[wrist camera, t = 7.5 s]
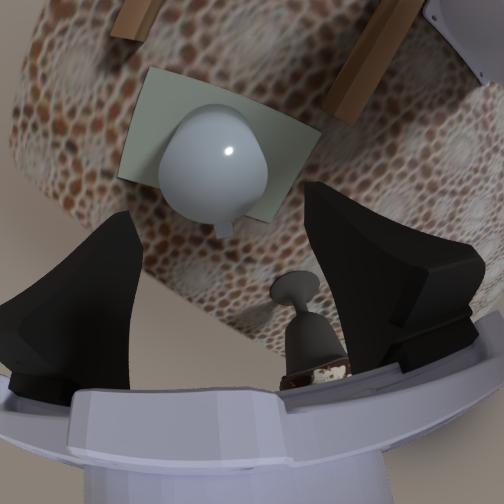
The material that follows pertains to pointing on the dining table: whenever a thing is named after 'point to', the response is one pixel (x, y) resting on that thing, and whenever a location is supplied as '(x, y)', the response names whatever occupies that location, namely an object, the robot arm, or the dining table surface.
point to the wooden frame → (353, 71)
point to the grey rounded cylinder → (213, 168)
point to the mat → (200, 93)
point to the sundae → (308, 336)
